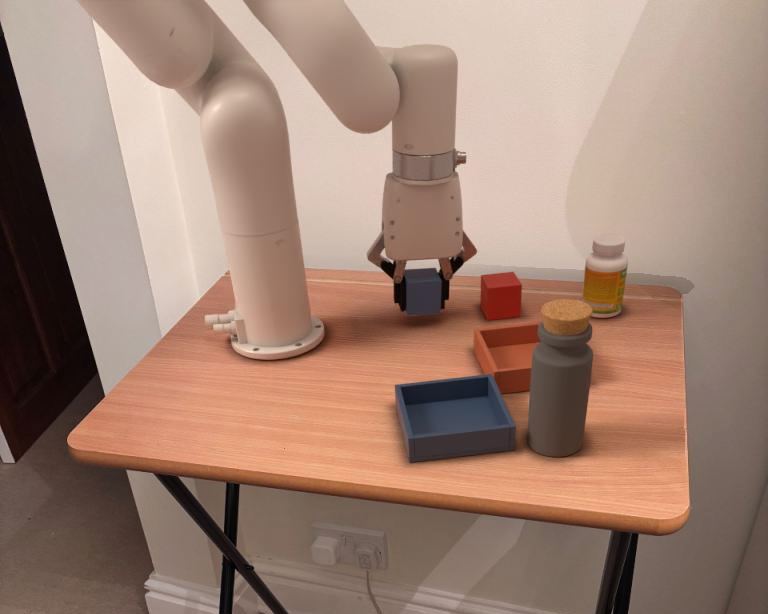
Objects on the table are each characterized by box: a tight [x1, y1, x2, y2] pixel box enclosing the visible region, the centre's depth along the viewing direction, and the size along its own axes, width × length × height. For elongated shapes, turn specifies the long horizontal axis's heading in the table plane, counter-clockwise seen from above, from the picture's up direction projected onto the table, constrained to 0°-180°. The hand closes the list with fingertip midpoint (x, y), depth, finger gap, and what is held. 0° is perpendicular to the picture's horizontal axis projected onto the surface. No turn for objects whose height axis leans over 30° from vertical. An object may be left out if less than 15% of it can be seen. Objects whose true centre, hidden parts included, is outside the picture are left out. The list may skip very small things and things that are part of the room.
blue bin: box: [394, 374, 517, 463], centre depth 85 cm, size 11×11×3 cm
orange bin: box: [473, 321, 542, 395], centre depth 94 cm, size 11×11×3 cm
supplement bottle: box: [580, 233, 629, 319], centre depth 103 cm, size 5×5×10 cm
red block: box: [479, 271, 523, 321], centre depth 106 cm, size 5×5×5 cm
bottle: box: [526, 298, 594, 458], centre depth 77 cm, size 6×6×15 cm
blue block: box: [403, 267, 442, 317], centre depth 104 cm, size 5×5×5 cm
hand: (421, 305), depth 105 cm, fingers closed on blue block, 4 cm apart
